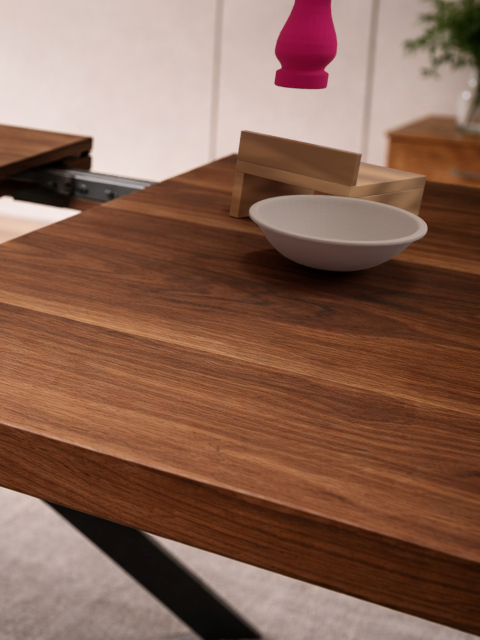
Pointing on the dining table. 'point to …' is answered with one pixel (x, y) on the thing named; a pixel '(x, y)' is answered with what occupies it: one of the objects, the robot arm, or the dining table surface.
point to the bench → (315, 174)
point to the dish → (336, 230)
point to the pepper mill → (306, 46)
